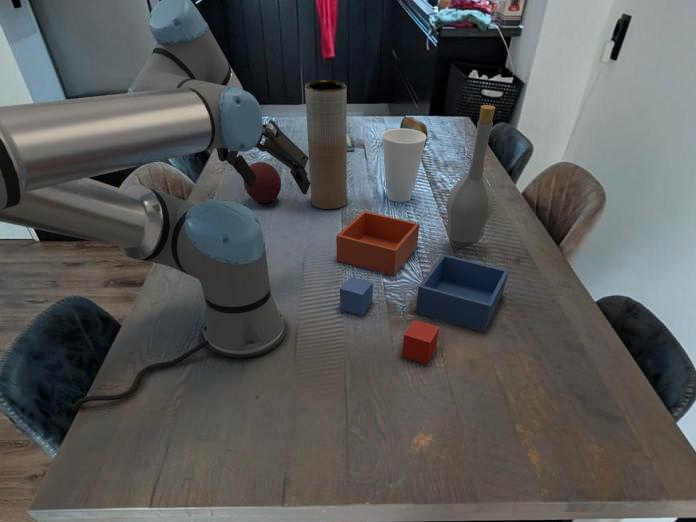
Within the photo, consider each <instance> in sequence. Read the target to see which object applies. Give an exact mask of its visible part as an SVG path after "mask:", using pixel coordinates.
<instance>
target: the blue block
mask: <svg viewBox="0 0 696 522" xmlns="http://www.w3.org/2000/svg"><path fill="white" fill-rule="evenodd" d="M373 293H374V282H372V281H368V280H365V279H361V278H356V277H354V276H350V277H349V278H348V279H347V280H346V281H345V282H344V283H343V284H342V285H341V286H340V287H339V310H341V311H344V312H346V313H347V312H348V313H351V314H353V315H357V316H360V317H363V315H364V314H365V313H366V312H367V310H369V308H370V307H371V306H372V304H373Z"/></svg>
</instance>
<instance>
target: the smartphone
mask: <svg viewBox="0 0 696 522" xmlns="http://www.w3.org/2000/svg"><path fill="white" fill-rule="evenodd" d="M351 140H352V139H351V136H350V134H348V133H347V152H352V151H353V150H354V148H353V144H352V141H351Z"/></svg>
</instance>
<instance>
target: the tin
mask: <svg viewBox="0 0 696 522" xmlns="http://www.w3.org/2000/svg"><path fill="white" fill-rule="evenodd" d="M399 128H403V129H413V130H417V131H420V132H422V133H424V134H425V135H426V137H427V138H426V141H425V145H424V149H425V147H426V146H427V141H428V133H429V132H428V128H427V125H426V124H425V123H424V122H423V121H420V120H418V119H417V118H415V117H413V116H404V117H403V118H402V119H401V123H400V126H399Z"/></svg>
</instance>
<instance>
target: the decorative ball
mask: <svg viewBox="0 0 696 522" xmlns="http://www.w3.org/2000/svg"><path fill="white" fill-rule="evenodd" d="M249 167H250V168H251V170H252V171H253V172H254V174H255V175H256V177H257V178H256V181H255V183H254V185H253V188H250V187H249V186H248V185H247V183H246V182H245V181H244V180H243V187H244V190H245V191H246V194H247V195H248V196H249V198H251V199H252V200H253V201H255V202H257V203H261V204H268V203H271V202H273V201H274V200H275V199H277V198H278V197H279V194H280V193H281V190H282V179H281V176H280V173H279V172H278V170H277V169H276V168H275V167H274V166H273V165H272V164H270V163H267V162H264V161H258V162H254V163H253V164H252V163H251V165H249Z"/></svg>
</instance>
